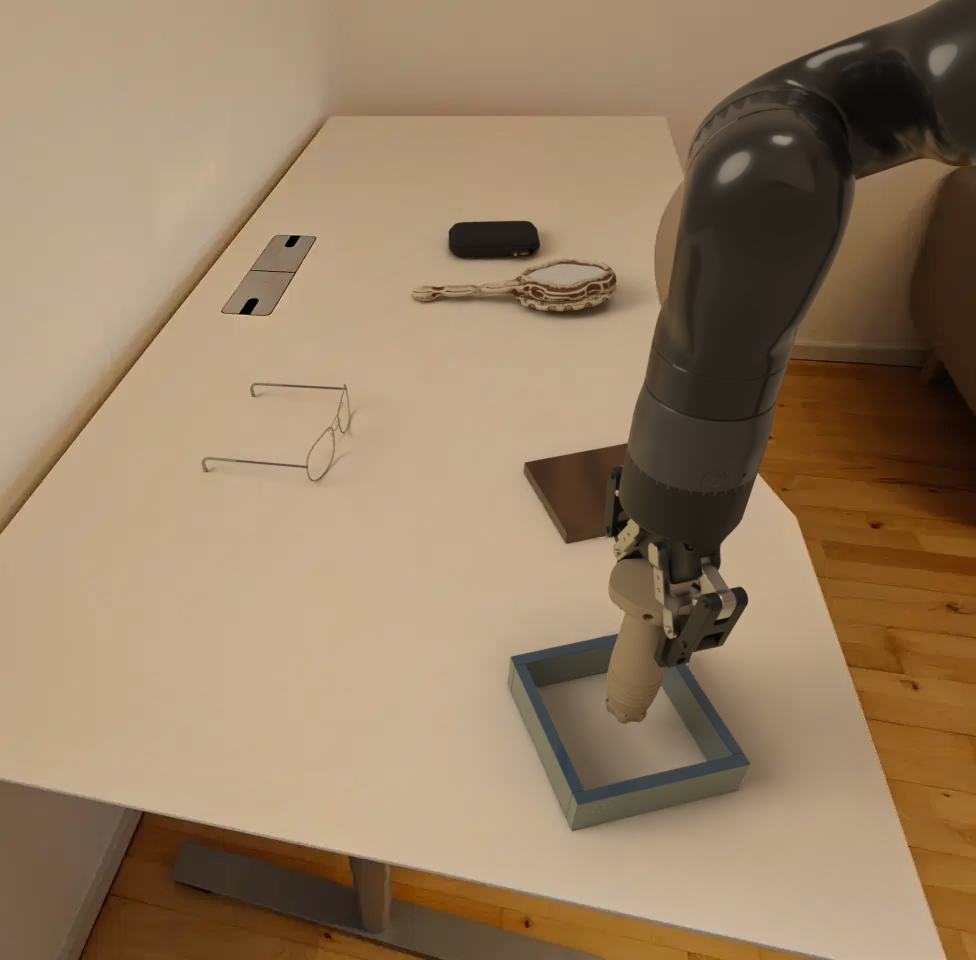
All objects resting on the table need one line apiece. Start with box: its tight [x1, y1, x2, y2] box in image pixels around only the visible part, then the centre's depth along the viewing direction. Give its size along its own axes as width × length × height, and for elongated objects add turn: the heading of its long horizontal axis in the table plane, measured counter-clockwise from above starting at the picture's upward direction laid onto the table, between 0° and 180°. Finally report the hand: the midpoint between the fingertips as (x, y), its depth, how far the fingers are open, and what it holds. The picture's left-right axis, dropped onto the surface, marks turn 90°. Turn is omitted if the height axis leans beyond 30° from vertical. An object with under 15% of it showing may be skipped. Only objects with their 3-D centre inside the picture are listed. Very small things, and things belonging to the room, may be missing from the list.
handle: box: [605, 559, 694, 725], centre depth 63 cm, size 5×6×15 cm
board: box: [523, 442, 629, 544], centre depth 93 cm, size 14×12×2 cm
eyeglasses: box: [201, 382, 351, 482], centre depth 103 cm, size 16×15×5 cm
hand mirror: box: [411, 258, 618, 312], centre depth 125 cm, size 11×6×30 cm
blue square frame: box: [506, 632, 752, 831], centre depth 69 cm, size 14×14×4 cm
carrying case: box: [448, 220, 541, 259], centre depth 139 cm, size 11×3×15 cm
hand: (647, 625), depth 61 cm, fingers closed on handle, 6 cm apart
